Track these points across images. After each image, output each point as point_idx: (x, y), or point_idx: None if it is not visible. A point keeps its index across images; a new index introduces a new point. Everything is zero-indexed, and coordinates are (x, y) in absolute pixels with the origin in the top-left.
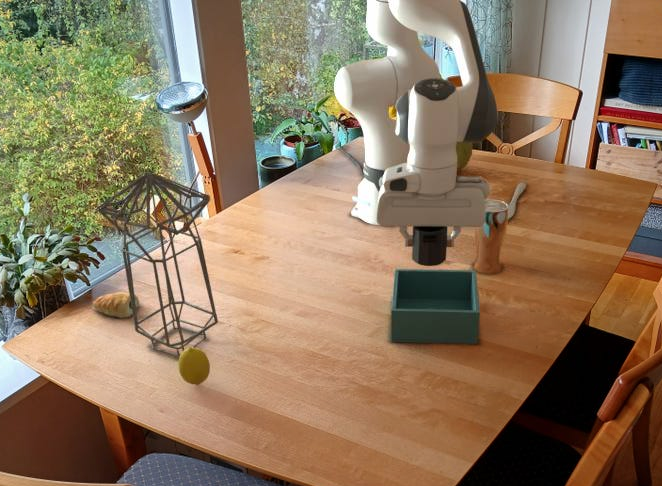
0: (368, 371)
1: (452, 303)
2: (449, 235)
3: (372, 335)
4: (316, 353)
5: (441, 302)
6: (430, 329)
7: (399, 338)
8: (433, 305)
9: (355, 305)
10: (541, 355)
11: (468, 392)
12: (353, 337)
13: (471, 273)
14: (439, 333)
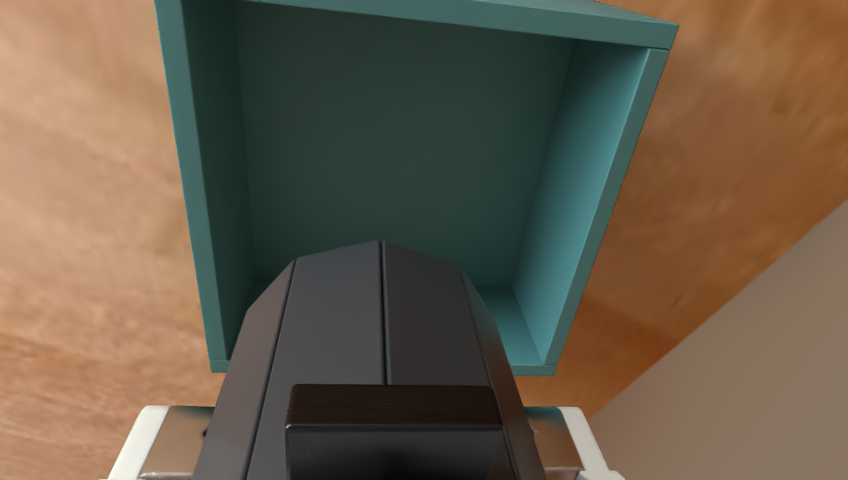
0: (198, 397)
1: (493, 51)
2: (565, 471)
3: (170, 246)
4: (2, 335)
5: (445, 38)
6: None
7: None
8: (406, 65)
9: (18, 13)
10: (668, 332)
11: None
12: (101, 257)
13: (642, 46)
14: None
